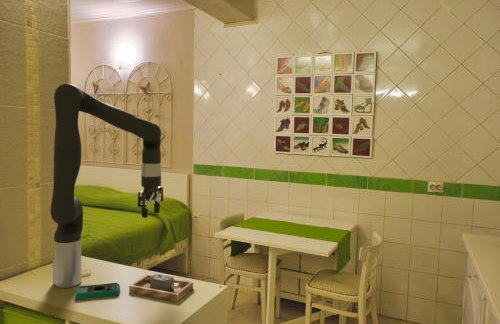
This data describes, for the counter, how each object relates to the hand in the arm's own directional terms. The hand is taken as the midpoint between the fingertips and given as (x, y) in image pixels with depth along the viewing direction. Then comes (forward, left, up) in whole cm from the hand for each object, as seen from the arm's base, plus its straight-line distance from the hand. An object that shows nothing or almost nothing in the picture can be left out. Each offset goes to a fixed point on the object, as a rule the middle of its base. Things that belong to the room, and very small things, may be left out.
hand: (150, 215), depth 155 cm
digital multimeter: (-10, -19, -27) cm, 34 cm away
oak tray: (+10, -8, -26) cm, 29 cm away
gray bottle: (+10, -8, -25) cm, 28 cm away
